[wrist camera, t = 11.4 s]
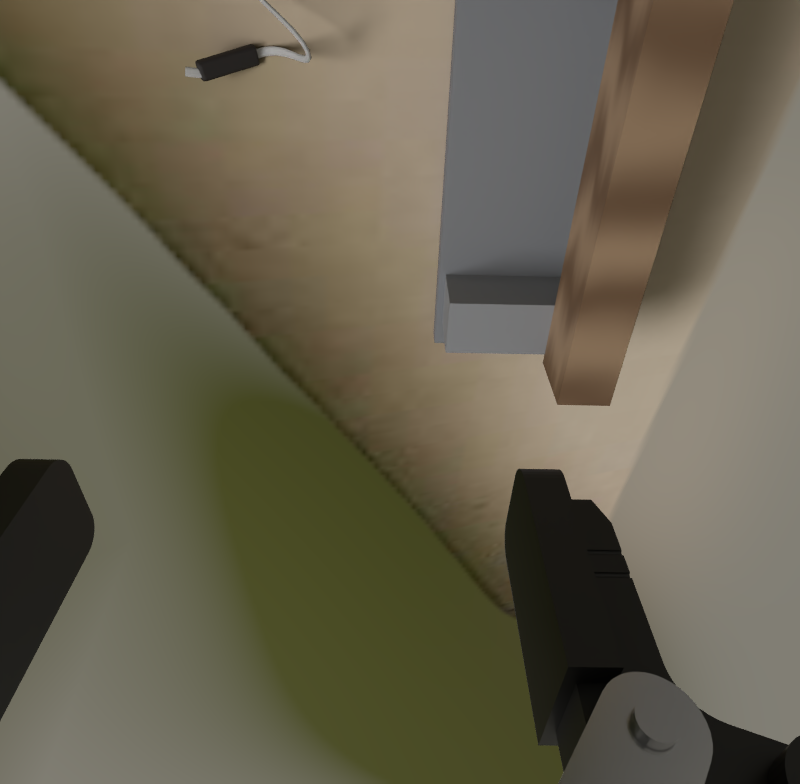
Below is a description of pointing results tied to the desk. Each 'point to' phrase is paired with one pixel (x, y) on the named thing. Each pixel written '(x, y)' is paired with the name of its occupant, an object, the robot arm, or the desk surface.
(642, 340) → the desk surface
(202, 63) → the clip-on lamp
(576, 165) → the notch rack
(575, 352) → the wooden plank
